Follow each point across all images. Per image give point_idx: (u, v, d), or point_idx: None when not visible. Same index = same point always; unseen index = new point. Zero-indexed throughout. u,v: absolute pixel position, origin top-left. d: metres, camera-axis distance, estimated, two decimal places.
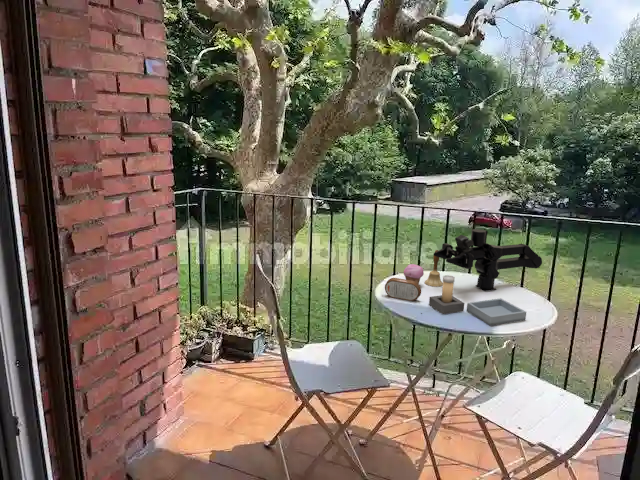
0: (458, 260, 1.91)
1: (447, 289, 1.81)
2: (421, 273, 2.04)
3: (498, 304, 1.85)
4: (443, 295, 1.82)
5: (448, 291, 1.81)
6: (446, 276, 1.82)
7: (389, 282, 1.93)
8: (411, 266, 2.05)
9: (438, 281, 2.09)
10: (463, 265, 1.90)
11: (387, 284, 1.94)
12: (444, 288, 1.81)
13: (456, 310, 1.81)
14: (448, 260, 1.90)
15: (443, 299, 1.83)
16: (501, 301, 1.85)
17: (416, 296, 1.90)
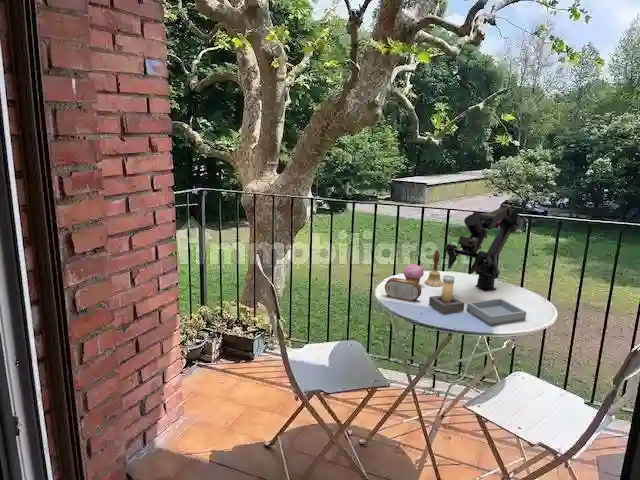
0: (477, 264, 1.84)
1: (447, 289, 1.81)
2: (421, 273, 2.04)
3: (498, 304, 1.85)
4: (443, 295, 1.82)
5: (448, 291, 1.81)
6: (446, 276, 1.82)
7: (389, 282, 1.93)
8: (411, 266, 2.05)
9: (438, 281, 2.09)
10: (484, 265, 1.84)
11: (387, 284, 1.94)
12: (444, 288, 1.81)
13: (456, 310, 1.81)
14: (471, 272, 1.83)
15: (443, 299, 1.83)
16: (501, 301, 1.85)
17: (416, 296, 1.90)
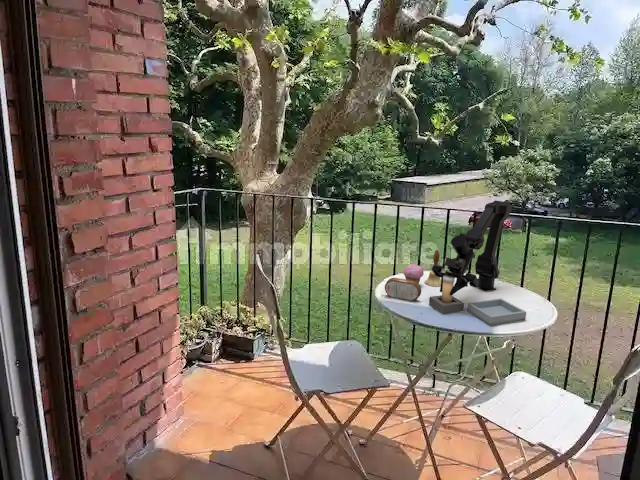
0: (458, 284, 1.81)
1: (447, 289, 1.81)
2: (421, 273, 2.04)
3: (498, 304, 1.85)
4: (443, 295, 1.82)
5: (448, 291, 1.81)
6: (446, 276, 1.82)
7: (389, 282, 1.93)
8: (411, 266, 2.05)
9: (438, 281, 2.09)
10: (465, 285, 1.82)
11: (387, 284, 1.94)
12: (444, 288, 1.81)
13: (456, 310, 1.81)
14: (452, 293, 1.80)
15: (443, 299, 1.83)
16: (501, 301, 1.85)
17: (416, 296, 1.90)
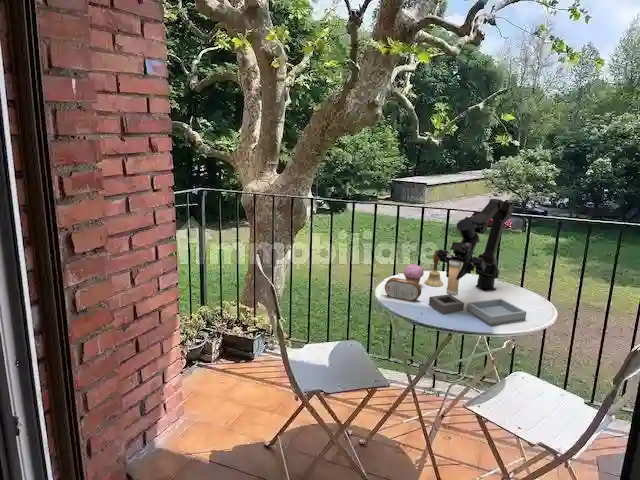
0: (465, 269, 1.79)
1: (454, 273, 1.78)
2: (421, 273, 2.04)
3: (498, 304, 1.85)
4: (449, 280, 1.79)
5: (455, 276, 1.78)
6: (452, 260, 1.79)
7: (389, 282, 1.93)
8: (411, 266, 2.05)
9: (438, 281, 2.09)
10: (472, 269, 1.79)
11: (387, 284, 1.94)
12: (451, 273, 1.78)
13: (456, 310, 1.81)
14: (459, 277, 1.78)
15: (449, 284, 1.80)
16: (501, 301, 1.85)
17: (416, 296, 1.90)
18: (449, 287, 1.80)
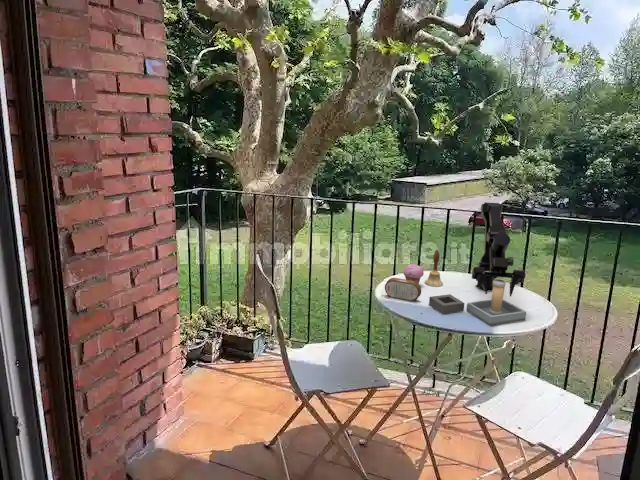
0: None
1: (501, 293, 1.74)
2: (421, 273, 2.04)
3: None
4: (496, 301, 1.75)
5: (501, 296, 1.74)
6: (496, 281, 1.75)
7: (389, 282, 1.93)
8: (411, 266, 2.05)
9: (438, 281, 2.09)
10: (517, 283, 1.78)
11: (387, 284, 1.94)
12: (498, 294, 1.74)
13: (456, 310, 1.81)
14: (511, 294, 1.74)
15: (496, 305, 1.75)
16: None
17: (416, 296, 1.90)
18: (495, 308, 1.76)
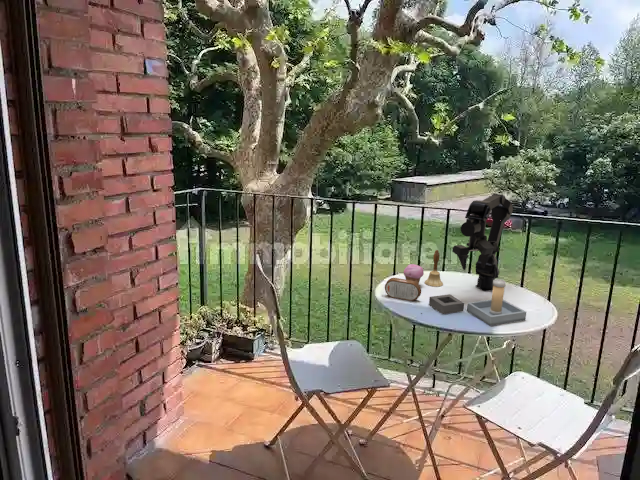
0: None
1: (501, 293, 1.74)
2: (421, 273, 2.04)
3: None
4: (496, 301, 1.75)
5: (501, 296, 1.74)
6: (496, 281, 1.75)
7: (389, 282, 1.93)
8: (411, 266, 2.05)
9: (438, 281, 2.09)
10: None
11: (387, 284, 1.94)
12: (498, 293, 1.74)
13: (456, 310, 1.81)
14: None
15: (496, 305, 1.75)
16: None
17: (416, 296, 1.90)
18: (495, 308, 1.76)
